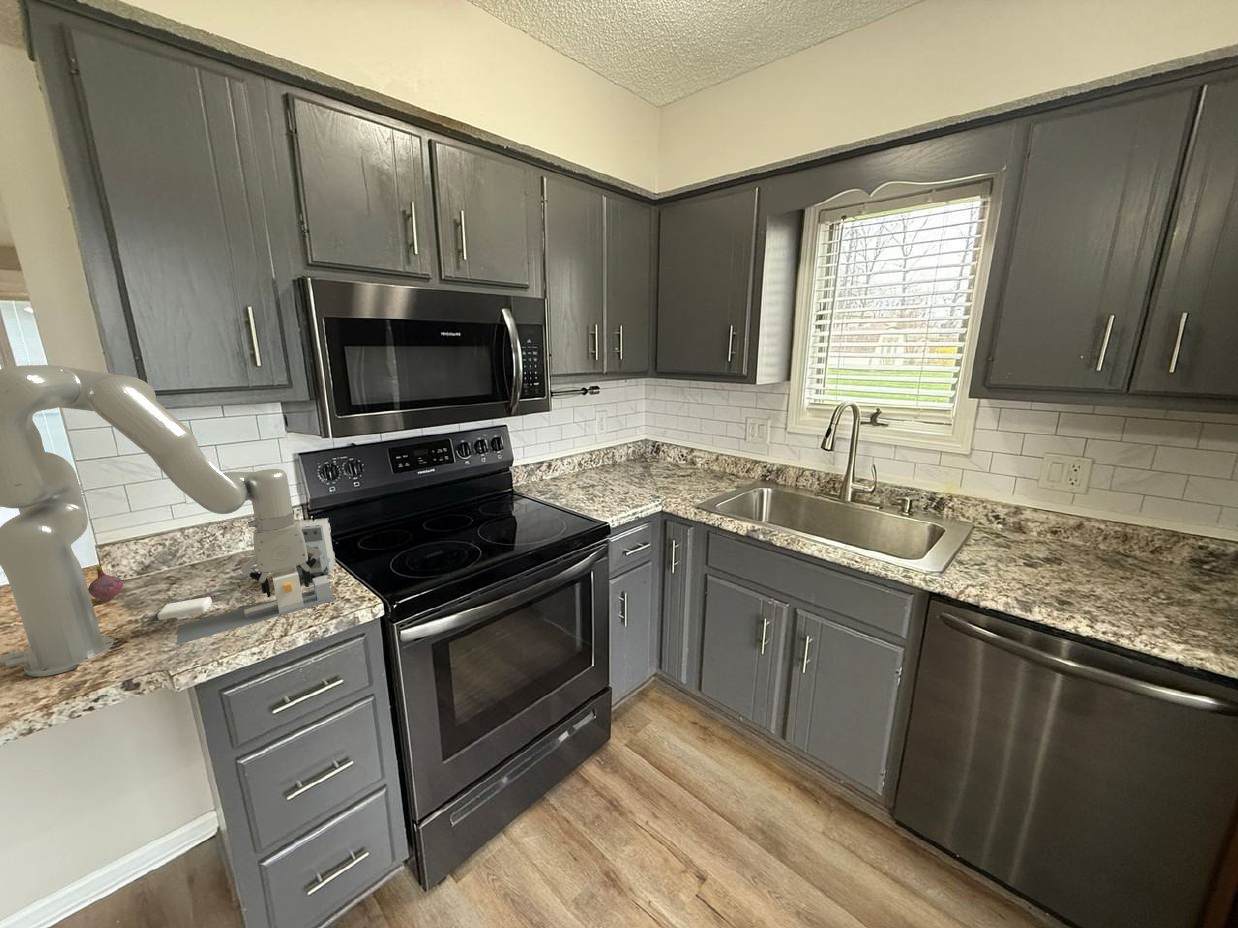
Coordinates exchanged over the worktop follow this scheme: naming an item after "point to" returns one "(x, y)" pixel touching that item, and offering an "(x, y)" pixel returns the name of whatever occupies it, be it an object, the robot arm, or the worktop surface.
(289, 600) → the block
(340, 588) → the worktop surface
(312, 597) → the rail
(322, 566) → the circuit breaker
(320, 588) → the end stop
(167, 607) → the soap
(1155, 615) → the worktop surface
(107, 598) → the vegetable
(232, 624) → the board
